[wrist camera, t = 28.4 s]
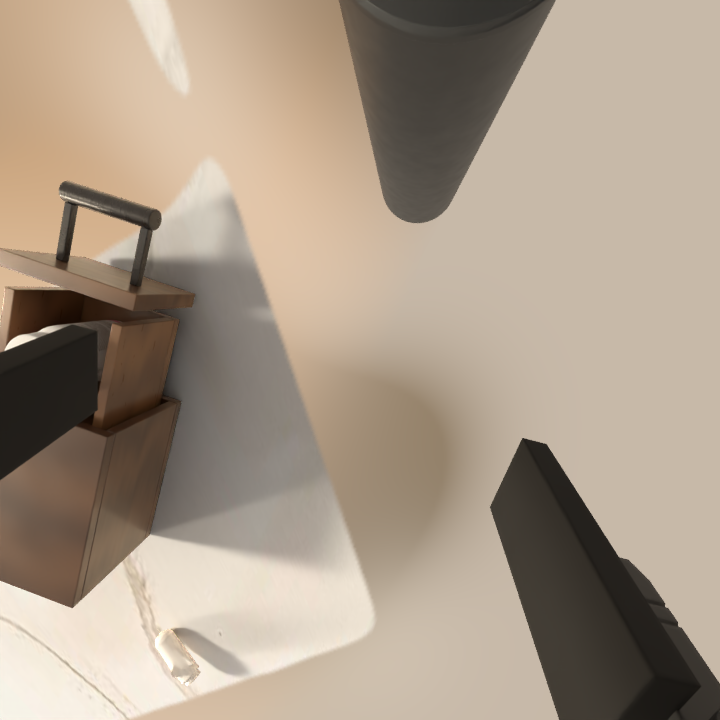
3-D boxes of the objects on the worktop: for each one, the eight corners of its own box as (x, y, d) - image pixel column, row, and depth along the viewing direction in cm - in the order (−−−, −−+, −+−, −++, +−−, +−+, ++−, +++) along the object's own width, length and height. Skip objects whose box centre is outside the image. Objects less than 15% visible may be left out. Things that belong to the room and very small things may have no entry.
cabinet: (68, 361, 38) (-42, 384, 29) (181, 401, 38) (107, 437, 28) (44, 496, 41) (-64, 557, 32) (149, 535, 40) (72, 608, 31)
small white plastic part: (186, 614, 42) (169, 639, 38) (209, 663, 42) (194, 692, 39) (157, 622, 42) (137, 648, 39) (180, 671, 43) (163, 700, 40)
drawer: (97, 190, 34) (9, 161, 27) (211, 227, 34) (154, 208, 26) (60, 398, 38) (-27, 425, 30) (162, 435, 37) (100, 471, 30)
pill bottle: (90, 318, 35) (-7, 326, 27) (141, 320, 35) (59, 329, 26) (93, 372, 36) (1, 395, 28) (144, 375, 35) (65, 400, 27)
